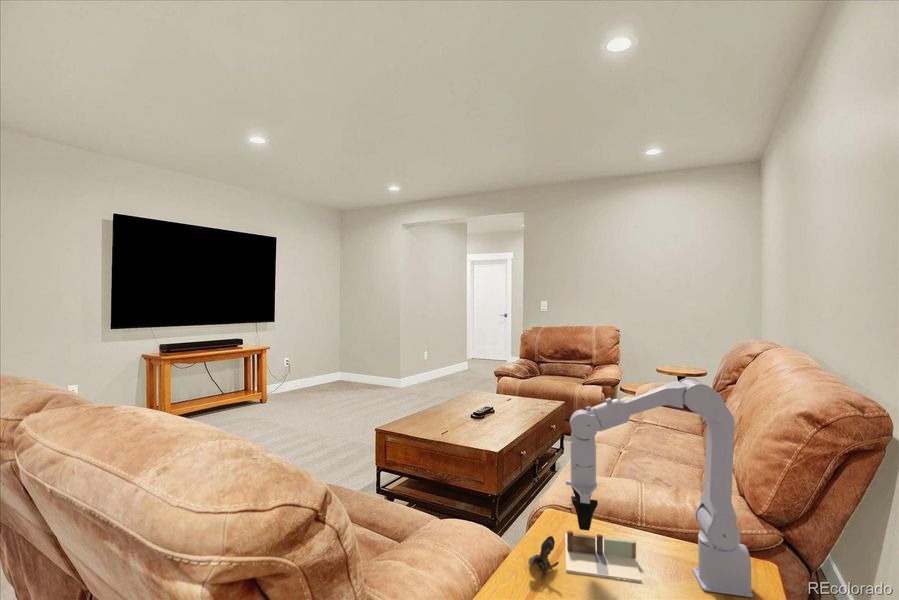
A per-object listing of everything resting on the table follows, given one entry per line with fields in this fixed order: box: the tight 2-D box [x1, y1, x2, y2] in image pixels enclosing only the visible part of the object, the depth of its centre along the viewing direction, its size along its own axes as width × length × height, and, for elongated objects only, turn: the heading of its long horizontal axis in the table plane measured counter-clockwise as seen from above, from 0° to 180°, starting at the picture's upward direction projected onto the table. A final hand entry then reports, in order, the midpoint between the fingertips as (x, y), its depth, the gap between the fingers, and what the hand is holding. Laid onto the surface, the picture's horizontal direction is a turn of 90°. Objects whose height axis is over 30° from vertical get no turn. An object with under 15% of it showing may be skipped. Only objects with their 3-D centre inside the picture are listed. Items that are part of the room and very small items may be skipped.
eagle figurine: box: [528, 535, 560, 580], centre depth 102 cm, size 8×7×9 cm
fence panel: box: [603, 537, 637, 559], centre depth 106 cm, size 7×1×4 cm, turn 76°
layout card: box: [564, 532, 643, 583], centre depth 107 cm, size 16×17×1 cm
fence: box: [566, 530, 604, 555], centre depth 108 cm, size 8×1×4 cm, turn 76°
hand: (583, 521), depth 104 cm, fingers open, 7 cm apart
